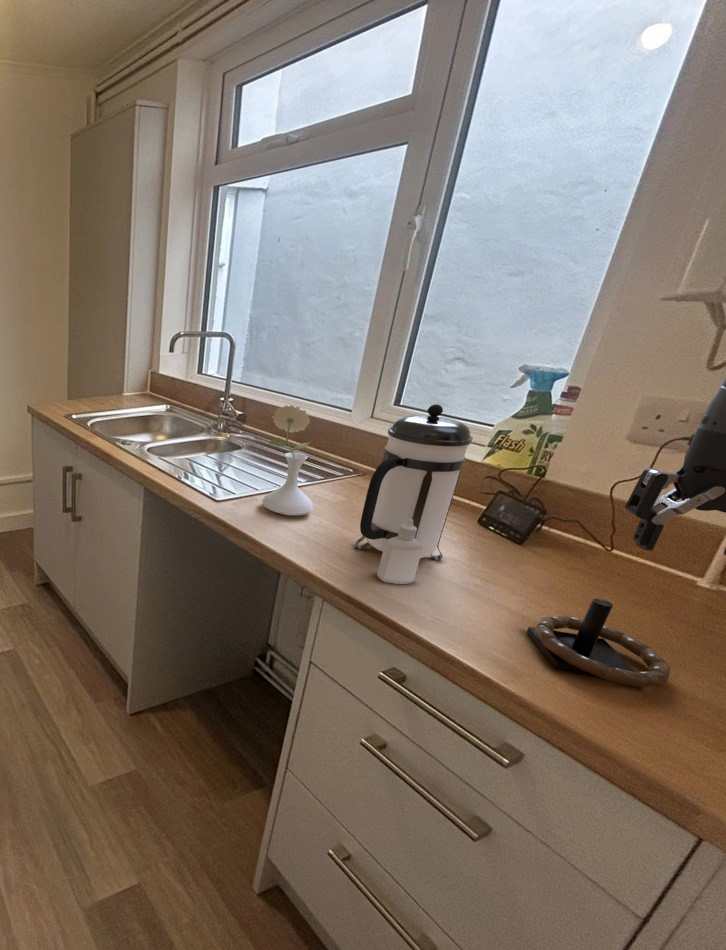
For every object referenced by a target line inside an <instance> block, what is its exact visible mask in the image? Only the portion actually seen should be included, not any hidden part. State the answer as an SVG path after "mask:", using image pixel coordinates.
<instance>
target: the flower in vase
mask: <svg viewBox="0 0 726 950" xmlns="http://www.w3.org/2000/svg"><path fill="white" fill-rule="evenodd" d="M271 418H272V420H273V421H272V422H273V423H274V426H275V427H276V428H278V430H284V431H285V432H286V438H285V440H284V439H282V438H281V437H276V438H273V439H272V440H270V441H269V442H268V444H269V445H273V446H276V447H279V448H283V447H285V446H288V449H289V450H290V452H285V453H284V454H283V455H284V457H285V459H286V461H287V474H286V475H287V476H286V481H285V483H284V484H283V485H282V486H281V487H278V488H277V489H274V490H272V491H270V492H269V493H267V494H266V495H265V496H264V497H263V498H262V504H263V507H265V508H266V509H268V510H269V511H272V512H274V513H277V514H279V515H284V516H303V515H308V514H310V513H312V511H314V508H315V506H314V503H313V501H312V499H310V498H309V496H307V494H306V493H305V492H303V491H302V489H300V488H299V486H298V477H299V473H300V470H301V468H302V465H303V464H304V463H305V461H306V460H307V459H308V458H309V456H308V455H307V454H305V453H301V452H294V451H299V450H303V449H304V448H307V447H308V446H309V445H310V444H311V441H308V442H303V443H298V444H297V445H296V446H295V447H293V448H292V446H291V445H290V442H289V433H295V432H296V433H299V432H300V431H306V428H307V427H308V425H310V424H311V422H310V421H311V419H310V417H309V413H307V411H306V410H303V409H301V407H300V406H294V405H292V404H291V405H288V404H287V405H286V404H285V405H284V406H283V407H280V406H279V407H278V408H277V409H275V412H273V415H271Z"/></svg>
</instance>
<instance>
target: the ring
mask: <svg viewBox="0 0 726 950" xmlns="http://www.w3.org/2000/svg"><path fill="white" fill-rule="evenodd" d="M583 620H584V618H577V617H574V616H573V617H572V616H569V615H568V616H567V615H560V616H546V617H542V618H541V619H540V621H539V622H538V623H537V624H536V626H534V627H535V633H536V635H537V636H538V638H539V639H540V640H541V642H542V643H543V645H544V646H545V647H546V648H547V649H548V650H550V651H551V652H553V653H554V654H556V655H557V656H559V657H560V658H562V659H563V660H564V661H566V662H567V663H569V664H571V665H573V666H575V667H577V668H580V669H582V670H584V671H587V672H589V673H591V674H594V675H596V676H598V677H597V678H600V677H601V679H603V680H607V681H611V682H615V683H619V684H623V685H627V686H631V687H632V686H633V687H635V688H636V687H637V688H642V687H644V688H645V687H653V686H654V687H655V686H663V685H665V684H667V683H668V680H669V677H670V674H671V670H672V669H671V666H670V665H669V664H668V663H667V662H666V661H665V659H663V658H662V657H661V655H660V654H659V653H658V652H657V651H655V649H653V648H652V647H650V646H648V645H646V644H644V642H642V641H639V640H638V639H636V638H634V637H632V636H631V635H629V634H627V633H625V632H623V631H620V630H617V629H615V628H612V627H610V626H607V625H604V626H603V628H602V630H601V632H600V635H599V637H598V638H603V639H604V640H605V641H609V642H612V643H615V644H617V645H618V646H620V647H622V648H624V649H625V650H627V651H628V652H631V653H632V654H633V655H635V656H637V657H639V658H640V659H641V660H642V661H643V662H644V664H645V665H646V666H647V667H648V670H647V671H645V670H644V671H635V672H632V671H628V670H624V669H619V668H615V667H610V666H607V665H605V664H602V663H600V662H597V661H595V660H593V659H590V658H588V657H585V656H583V655H581V654H579V653H577V652H576V651H574V650H572V649H571V648H569V647H568V646H566V645H565V644H563V643H562V642H560V641H559V640H558V639H557V638H556V636H555V635H554V634H553V631H555V630H561V629H563V630H564V629H568V630H573V631H577V632H578V631H579V629H580V627H581V625H582V623H583Z"/></svg>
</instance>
